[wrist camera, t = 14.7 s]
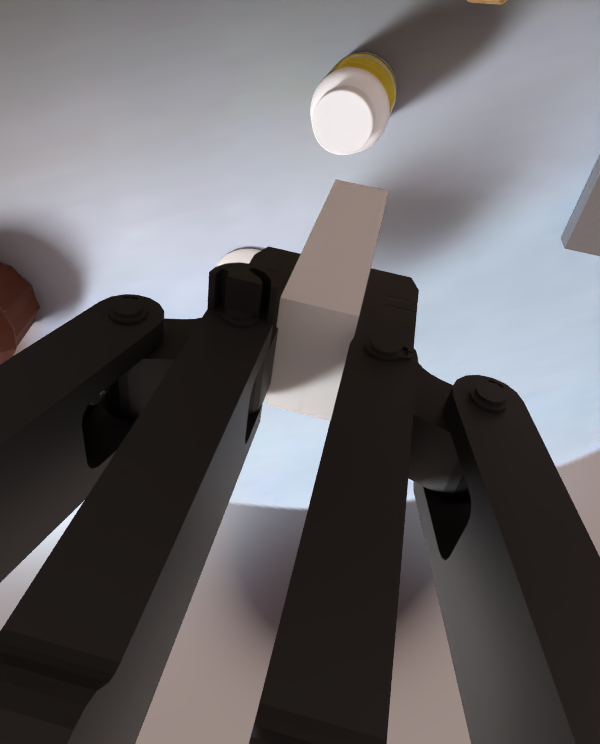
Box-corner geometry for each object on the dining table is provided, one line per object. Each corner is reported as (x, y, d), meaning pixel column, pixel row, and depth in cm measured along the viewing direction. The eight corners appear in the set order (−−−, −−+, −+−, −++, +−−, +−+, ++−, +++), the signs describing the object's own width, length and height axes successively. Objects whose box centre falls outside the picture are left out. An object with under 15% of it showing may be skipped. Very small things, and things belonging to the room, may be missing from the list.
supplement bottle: (339, 40, 42) (315, 63, 34) (408, 65, 42) (399, 93, 34) (318, 114, 45) (292, 150, 38) (382, 137, 45) (368, 178, 38)
